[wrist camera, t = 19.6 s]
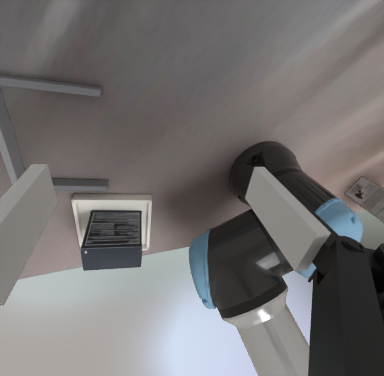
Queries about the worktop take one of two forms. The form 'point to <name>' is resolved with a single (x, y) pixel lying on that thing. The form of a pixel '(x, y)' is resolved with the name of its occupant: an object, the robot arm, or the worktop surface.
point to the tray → (112, 202)
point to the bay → (6, 143)
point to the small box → (112, 240)
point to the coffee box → (368, 197)
